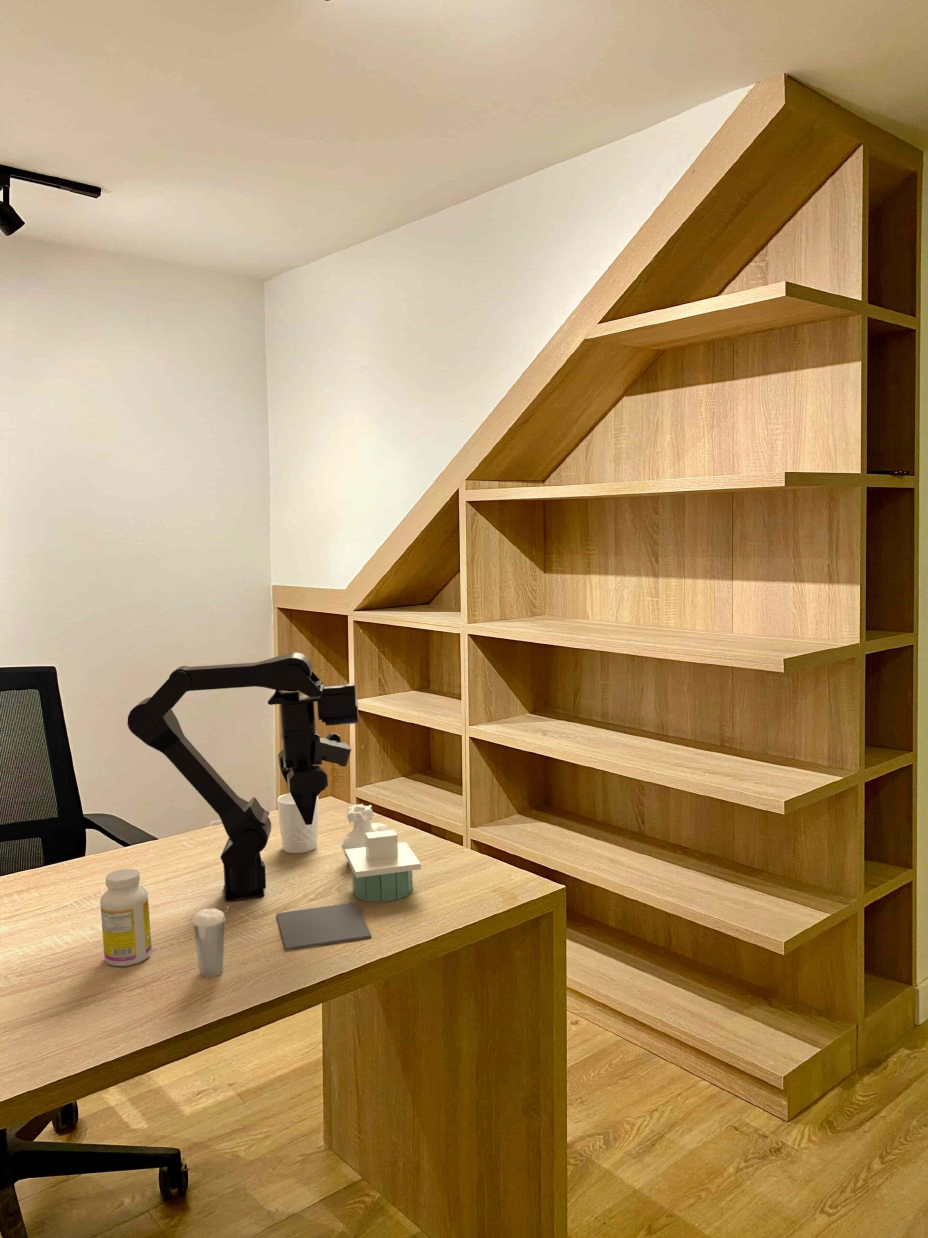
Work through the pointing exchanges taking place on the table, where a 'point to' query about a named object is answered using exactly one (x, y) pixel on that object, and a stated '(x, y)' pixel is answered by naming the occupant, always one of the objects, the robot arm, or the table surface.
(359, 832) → the bust
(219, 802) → the robot arm
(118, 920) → the supplement bottle
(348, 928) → the mat
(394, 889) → the bowl
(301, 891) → the table surface
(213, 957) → the milkshake
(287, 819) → the white cup
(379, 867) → the lid
